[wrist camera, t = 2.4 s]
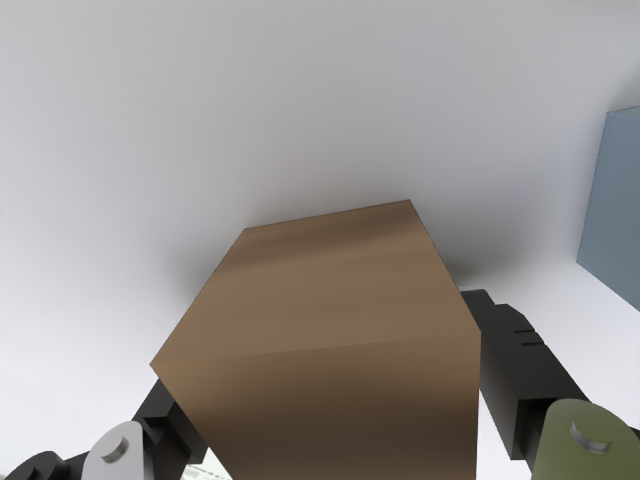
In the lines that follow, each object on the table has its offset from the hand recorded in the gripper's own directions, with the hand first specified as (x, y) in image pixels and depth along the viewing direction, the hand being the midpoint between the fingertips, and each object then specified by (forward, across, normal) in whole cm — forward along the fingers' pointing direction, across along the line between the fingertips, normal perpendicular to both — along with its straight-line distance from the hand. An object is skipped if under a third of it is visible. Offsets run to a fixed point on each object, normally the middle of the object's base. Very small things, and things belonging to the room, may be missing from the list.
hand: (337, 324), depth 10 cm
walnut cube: (+2, 0, 0) cm, 2 cm away
